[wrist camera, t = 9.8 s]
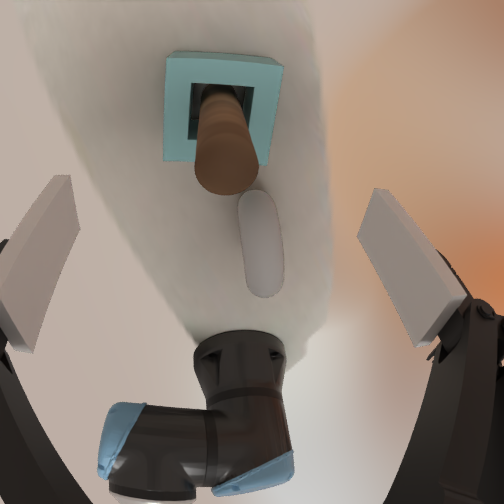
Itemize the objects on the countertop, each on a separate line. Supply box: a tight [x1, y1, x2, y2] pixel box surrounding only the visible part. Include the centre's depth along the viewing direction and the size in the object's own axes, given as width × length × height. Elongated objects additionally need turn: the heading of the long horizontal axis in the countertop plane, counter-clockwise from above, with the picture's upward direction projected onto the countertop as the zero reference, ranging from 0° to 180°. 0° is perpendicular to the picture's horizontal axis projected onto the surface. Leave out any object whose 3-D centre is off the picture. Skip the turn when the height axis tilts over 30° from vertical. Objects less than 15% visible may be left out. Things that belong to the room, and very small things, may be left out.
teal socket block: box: [163, 51, 284, 166], centre depth 23 cm, size 8×8×5 cm
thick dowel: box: [195, 84, 259, 195], centre depth 20 cm, size 3×3×14 cm
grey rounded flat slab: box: [238, 190, 284, 298], centre depth 30 cm, size 10×3×10 cm, turn 4°
